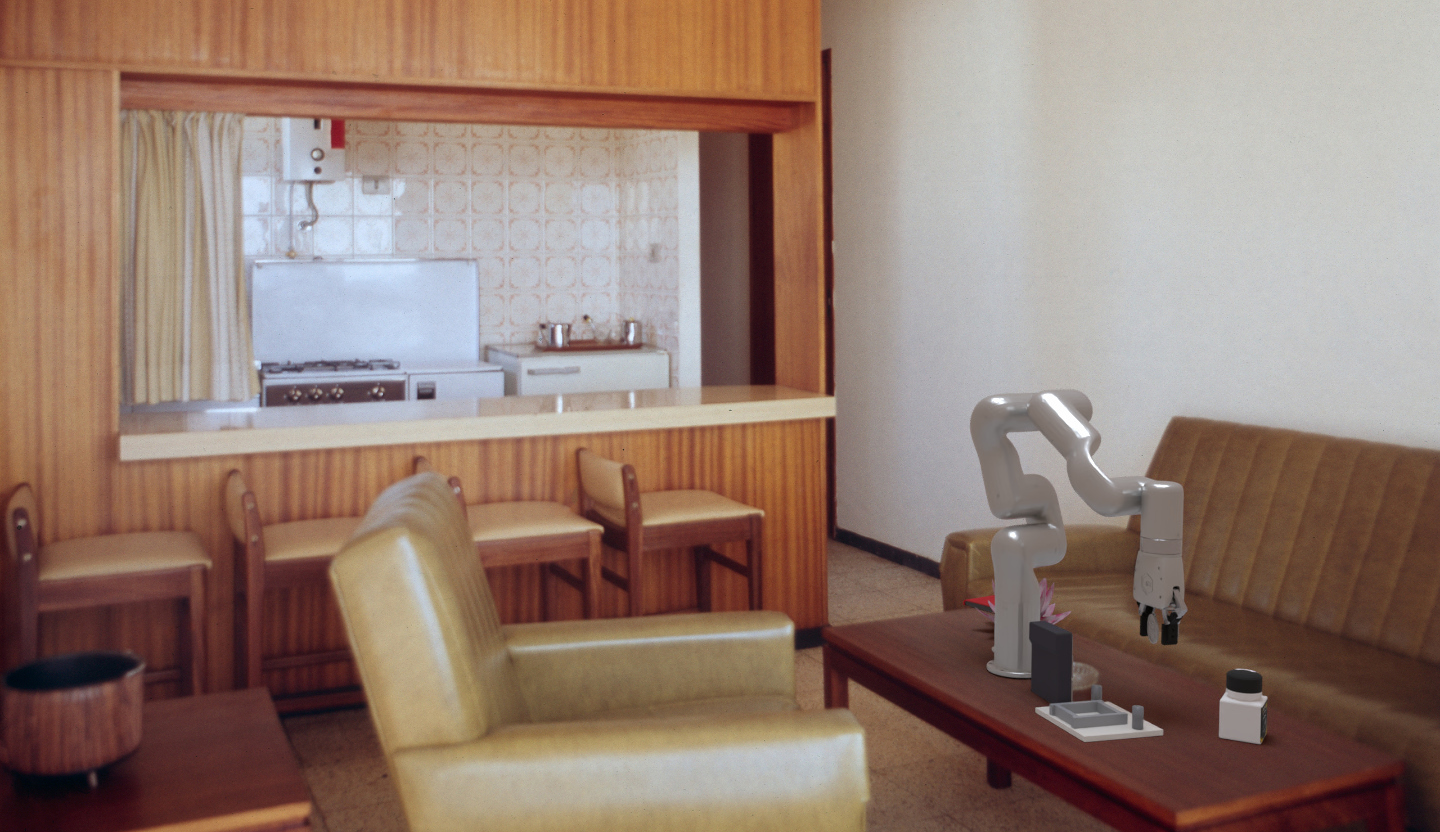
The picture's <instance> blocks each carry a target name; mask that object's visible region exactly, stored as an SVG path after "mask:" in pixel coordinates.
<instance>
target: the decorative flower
mask: <svg viewBox="0 0 1440 832" xmlns="http://www.w3.org/2000/svg"><path fill="white" fill-rule="evenodd" d="M991 581H992V582H991V583H992V585H991V586H992V591H993V592H992V593H993V595H995V581H994V580H993V578H992V579H991ZM1038 583H1039V587H1040V621H1047V622H1049V623H1051V624H1054V625H1056V624H1057V623H1059V622H1060V621H1062V620H1064V619H1065V618H1066V617H1067V616H1068V615H1070V614H1071V612H1072V610H1068V611H1065V612H1061V613H1057V614H1053V613H1054V610H1055V608H1056V607H1055V606H1056V603H1055V602H1054V603H1051V601H1052V599H1053V595H1054V593H1055V582H1053V583H1052V584H1051V585H1050V586H1049V588H1048V582H1047V578H1046V577H1043V578H1042V579H1041V581H1040V582H1038ZM988 603H989V606H990V607H991V609H992V610H993V612H994V613H995V606H994V605H993V604H992V603H991V602H990V601H988ZM1050 603H1051V604H1050ZM1049 604H1050V605H1049ZM974 609H976V610H977V612H978V613H980V614H981V615H982V616H984V617H986V619H989V620H990V621H991V622H992V623H994V624H995V615H991V614H987V613H985V612H983V610H981V609H977V608H976V607H975V608H974ZM994 613H993V614H994Z"/></svg>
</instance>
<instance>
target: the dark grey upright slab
mask: <svg viewBox="0 0 1440 832" xmlns="http://www.w3.org/2000/svg"><path fill="white" fill-rule="evenodd" d="M1073 636H1074V635H1073V633H1072V631H1069V630H1067V629H1064V628H1062V627H1060V626H1058V625H1056V624H1051V623H1049V622H1047V621H1034V622H1030V623H1029V640H1030V642H1031V643H1032V654H1031V678H1030V691H1031V693H1034V694H1036V696H1038V697H1039V698H1042V699H1043V700H1044V701H1046V702H1048V703H1049V704H1054V703H1067V702H1074V701H1073V699H1074V698H1073V696H1074V695H1073V693H1074V691H1073V689H1074V681H1073V678H1074V654H1073V649H1074V645H1073V644H1074V640H1073V638H1074V637H1073Z"/></svg>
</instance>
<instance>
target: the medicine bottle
mask: <svg viewBox="0 0 1440 832" xmlns="http://www.w3.org/2000/svg"><path fill="white" fill-rule="evenodd" d="M1225 675H1226V676H1225V679H1226V681H1225V682H1226V683H1225V692H1224V694H1222V697H1221V698H1220V700H1219V713H1218V715H1219V718H1218V719H1219V720H1218V723H1219V724H1218V738H1220V739H1223V740H1224V739H1225V740H1231V741H1237V742H1242V743H1249V744H1250V743H1251V744H1257V745H1261V744H1262V743H1263V741H1264V739H1265V737H1266V735H1267V732H1268V702H1269V701H1268V698H1269V697H1268V696H1266V695H1263V675H1261V673H1259V672H1258V671H1255V670H1251V669H1246V668H1234V669H1231V670H1228V671H1227V672H1226V674H1225Z"/></svg>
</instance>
